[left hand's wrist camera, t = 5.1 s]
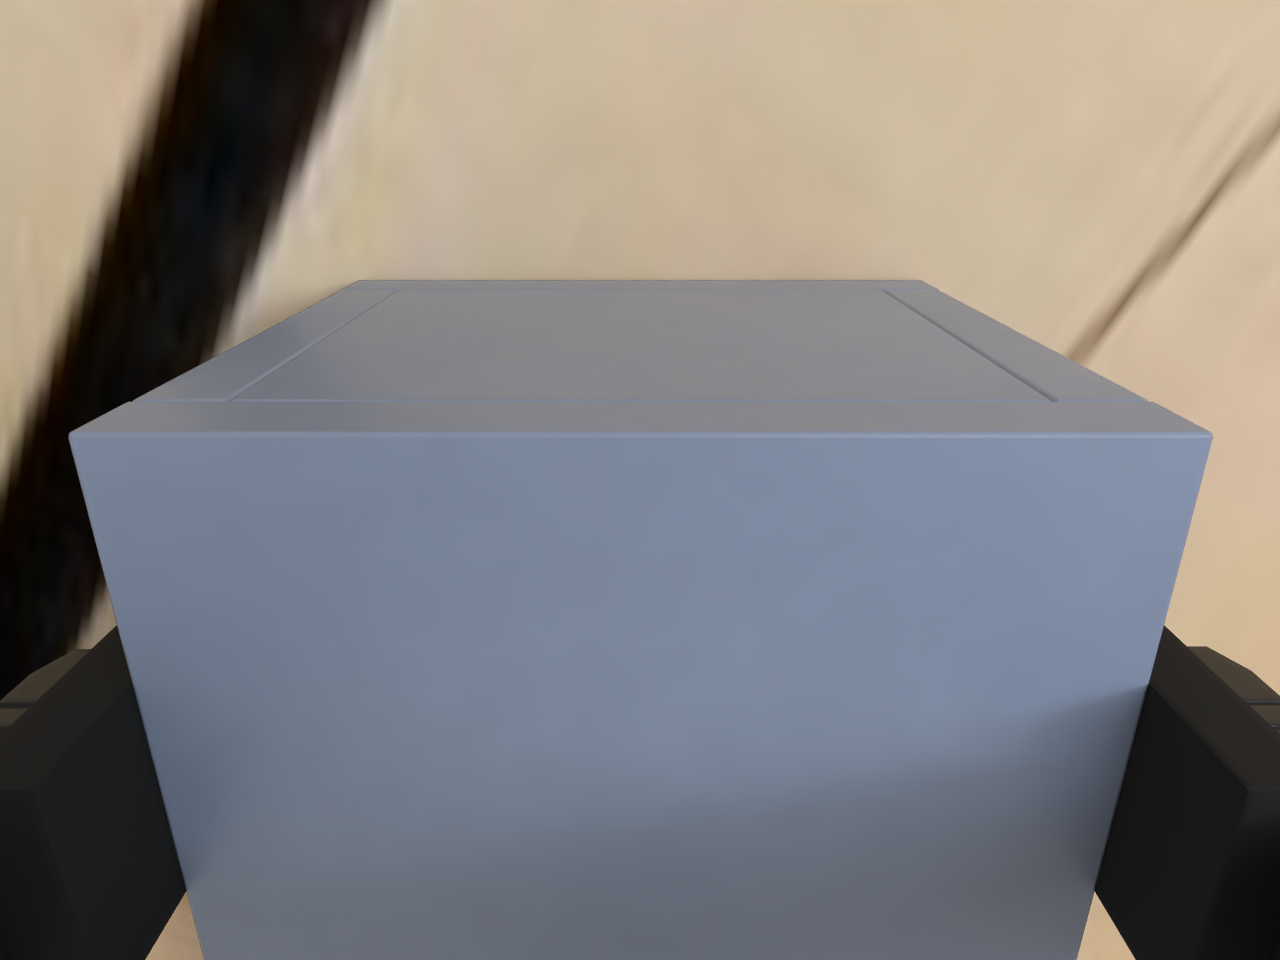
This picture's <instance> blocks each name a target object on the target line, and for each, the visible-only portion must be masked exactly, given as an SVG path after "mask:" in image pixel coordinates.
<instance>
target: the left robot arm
mask: <svg viewBox="0 0 1280 960" xmlns="http://www.w3.org/2000/svg"><path fill="white" fill-rule="evenodd" d="M185 892H186V888H185V884H184V880H183V876H182V872H181V869H180V865H179V861H178V857H177V853H176V849H175V845H174V842H173V838H172V834H171V830H170V826H169V822H168V819H167V815H166V811H165V807H164V803H163V799H162V795H161V792H160V788H159V784H158V780H157V776H156V772H155V768H154V765H153V761H152V757H151V753H150V749H149V745H148V742H147V738H146V734H145V730H144V726H143V722H142V718H141V715H140V711H139V707H138V703H137V699H136V695H135V691H134V688H133V684H132V680H131V676H130V672H129V668H128V665H127V661H126V657H125V653H124V649H123V645H122V641H121V638H120V634H119V630H118V626H116V627H115V628H113V629H112V630H111V631H110V632H109V633H108V634H107V635H106V636H105V637H104V638H103V639H102V640H101V641H100V642H99V643H97V644H96V645H95V646H94V647H93V648H92V649H75V650H73V651H71V652H70V653H68V654H66V655H64V656H62V657H60V658H59V659H57V660H55V661H53V662H51V663H50V664H48V665H46V666H44V667H42V668H40V669H39V670H37V671H35V672H33V673H31V674H30V675H29V676H28V677H27V678H25V679H24V680H23V681H22V682H21V683H20V684H19V685H18V686H16V687H15V688H14V689H13V690H12V691H11V692H10V693H8V694H7V695H6V696H5V697H4V698H3V699H2V700H1V701H0V960H145V959H146V957H147V956H148V954H149V952H150V951H151V949H152V947H153V946H154V944H155V942H156V941H157V939H158V937H159V936H160V934H161V932H162V931H163V929H164V927H165V926H166V924H167V922H168V921H169V919H170V917H171V916H172V914H173V912H174V911H175V909H176V907H177V906H178V904H179V902H180V901H181V899H182V897H183V896H184V894H185ZM1095 892H1096V894H1097V896H1098V897H1099V899H1100V901H1101V902H1102V904H1103V906H1104V907H1105V909H1106V911H1107V912H1108V914H1109V916H1110V917H1111V919H1112V921H1113V922H1114V924H1115V926H1116V927H1117V929H1118V931H1119V932H1120V934H1121V936H1122V937H1123V939H1124V941H1125V942H1126V944H1127V946H1128V947H1129V949H1130V951H1131V952H1132V954H1133V956H1134V957H1135V959H1136V960H1280V696H1279V695H1278V694H1277V693H1276V692H1275V691H1274V690H1272V689H1271V688H1270V687H1269V686H1268V685H1267V684H1266V683H1264V682H1263V681H1262V680H1261V679H1260V678H1259V677H1258V676H1256V675H1255V674H1254V673H1253V672H1252V671H1250V670H1249V669H1247V668H1245V667H1243V666H1241V665H1239V664H1238V663H1236V662H1234V661H1232V660H1230V659H1228V658H1227V657H1225V656H1223V655H1221V654H1219V653H1217V652H1216V651H1214V650H1212V649H1210V648H1208V647H1187V646H1186V645H1185V644H1183V643H1182V642H1181V641H1180V640H1179V639H1178V638H1177V637H1176V636H1175V635H1174V634H1173V633H1172V632H1171V631H1170V630H1169V629H1168V628H1166V627H1165V626H1163V630H1162V634H1161V638H1160V642H1159V646H1158V649H1157V653H1156V657H1155V661H1154V665H1153V669H1152V672H1151V676H1150V680H1149V684H1148V688H1147V692H1146V695H1145V699H1144V703H1143V707H1142V711H1141V715H1140V718H1139V722H1138V726H1137V730H1136V734H1135V738H1134V741H1133V745H1132V749H1131V753H1130V757H1129V761H1128V764H1127V768H1126V772H1125V776H1124V780H1123V784H1122V787H1121V791H1120V795H1119V799H1118V803H1117V807H1116V810H1115V814H1114V818H1113V822H1112V826H1111V830H1110V833H1109V837H1108V841H1107V845H1106V849H1105V853H1104V856H1103V860H1102V864H1101V868H1100V872H1099V876H1098V879H1097V883H1096V887H1095Z"/></svg>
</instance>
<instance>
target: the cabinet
mask: <svg viewBox="0 0 1280 960" xmlns="http://www.w3.org/2000/svg"><path fill="white" fill-rule="evenodd" d="M1212 438H1213V437H1212V433H1211V432H1210V431H1208V430H1206V429H1204V428H1202V427H1200V426H1198V425H1196V424H1194V423H1192V422H1191V421H1189V420H1187V419H1185V418H1183V417H1181V416H1179V415H1177V414H1175V413H1173V412H1171V411H1170V410H1168V409H1166V408H1164V407H1162V406H1160V405H1158V404H1156V403H1154V402H1148V400H1146V399H1144V398H1142V397H1141V396H1139V395H1137V394H1135V393H1133V392H1131V391H1129V390H1127V389H1125V388H1123V387H1122V386H1120V385H1118V384H1116V383H1114V382H1112V381H1110V380H1108V379H1106V378H1104V377H1103V376H1101V375H1099V374H1097V373H1095V372H1093V371H1091V370H1089V369H1087V368H1085V367H1084V366H1082V365H1080V364H1078V363H1076V362H1074V361H1072V360H1070V359H1068V358H1066V357H1065V356H1063V355H1061V354H1059V353H1057V352H1055V351H1053V350H1051V349H1049V348H1047V347H1046V346H1044V345H1042V344H1040V343H1038V342H1036V341H1034V340H1032V339H1030V338H1028V337H1027V336H1025V335H1023V334H1021V333H1019V332H1017V331H1015V330H1013V329H1011V328H1009V327H1008V326H1006V325H1004V324H1002V323H1000V322H998V321H996V320H994V319H992V318H990V317H989V316H987V315H985V314H983V313H981V312H979V311H977V310H975V309H973V308H971V307H970V306H968V305H966V304H964V303H962V302H960V301H958V300H956V299H954V298H952V297H951V296H949V295H947V294H945V293H943V292H941V291H939V290H938V289H937V288H935V287H933V286H931V285H929V284H927V283H925V282H923V281H921V280H359V281H357V282H355V283H353V284H351V285H349V286H347V287H345V288H343V289H342V290H341V291H339V292H337V293H335V294H333V295H331V296H330V297H328V298H326V299H324V300H322V301H320V302H318V303H316V304H314V305H312V306H311V307H309V308H307V309H305V310H303V311H301V312H299V313H297V314H295V315H294V316H292V317H290V318H288V319H286V320H284V321H282V322H280V323H278V324H277V325H275V326H273V327H271V328H269V329H267V330H265V331H263V332H261V333H260V334H258V335H256V336H254V337H252V338H250V339H248V340H246V341H244V342H243V343H241V344H239V345H237V346H235V347H233V348H231V349H229V350H227V351H226V352H224V353H222V354H220V355H218V356H216V357H214V358H212V359H210V360H208V361H207V362H205V363H203V364H201V365H199V366H197V367H195V368H193V369H191V370H190V371H188V372H186V373H184V374H182V375H180V376H178V377H176V378H174V379H173V380H171V381H169V382H167V383H165V384H163V385H161V386H159V387H157V388H156V389H154V390H152V391H150V392H148V393H146V394H144V395H142V396H140V397H139V398H137V399H135V400H133V402H127V403H125V404H123V405H121V406H119V407H117V408H116V409H114V410H112V411H110V412H108V413H106V414H104V415H102V416H100V417H98V418H97V419H95V420H93V421H91V422H89V423H87V424H85V425H83V426H81V427H79V428H78V429H76V430H74V431H72V432H70V434H69V441H70V445H71V449H72V453H73V457H74V461H75V464H76V468H77V472H78V476H79V480H80V484H81V487H82V491H83V495H84V499H85V503H86V507H87V511H88V514H89V518H90V522H91V526H92V530H93V534H94V538H95V541H96V545H97V549H98V553H99V557H100V561H101V564H102V568H103V572H104V576H105V580H106V584H107V588H108V591H109V595H110V599H111V603H112V607H113V611H114V615H115V618H116V622H117V626H118V630H119V634H120V638H121V641H122V645H123V649H124V653H125V657H126V661H127V665H128V668H129V672H130V676H131V680H132V684H133V688H134V691H135V695H136V699H137V703H138V707H139V711H140V715H141V718H142V722H143V726H144V730H145V734H146V738H147V742H148V745H149V749H150V753H151V757H152V761H153V765H154V768H155V772H156V776H157V780H158V784H159V788H160V792H161V795H162V799H163V803H164V807H165V811H166V815H167V819H168V822H169V826H170V830H171V834H172V838H173V842H174V845H175V849H176V853H177V857H178V861H179V865H180V869H181V872H182V876H183V880H184V884H185V888H186V892H187V895H188V899H189V903H190V907H191V911H192V915H193V919H194V922H195V926H196V930H197V934H198V938H199V942H200V946H201V949H202V953H203V957H204V960H1077V956H1078V952H1079V948H1080V945H1081V941H1082V937H1083V933H1084V929H1085V925H1086V922H1087V918H1088V914H1089V910H1090V906H1091V902H1092V899H1093V895H1094V891H1095V887H1096V883H1097V879H1098V876H1099V872H1100V868H1101V864H1102V860H1103V856H1104V853H1105V849H1106V845H1107V841H1108V837H1109V833H1110V830H1111V826H1112V822H1113V818H1114V814H1115V810H1116V807H1117V803H1118V799H1119V795H1120V791H1121V787H1122V784H1123V780H1124V776H1125V772H1126V768H1127V764H1128V761H1129V757H1130V753H1131V749H1132V745H1133V741H1134V738H1135V734H1136V730H1137V726H1138V722H1139V718H1140V715H1141V711H1142V707H1143V703H1144V699H1145V695H1146V692H1147V688H1148V684H1149V680H1150V676H1151V672H1152V669H1153V665H1154V661H1155V657H1156V653H1157V649H1158V646H1159V642H1160V638H1161V634H1162V630H1163V626H1164V622H1165V619H1166V615H1167V611H1168V607H1169V603H1170V599H1171V596H1172V592H1173V588H1174V584H1175V580H1176V576H1177V573H1178V569H1179V565H1180V561H1181V557H1182V553H1183V550H1184V546H1185V542H1186V538H1187V534H1188V530H1189V527H1190V523H1191V519H1192V515H1193V511H1194V507H1195V504H1196V500H1197V496H1198V492H1199V488H1200V484H1201V481H1202V477H1203V473H1204V469H1205V465H1206V461H1207V458H1208V454H1209V450H1210V446H1211V442H1212Z"/></svg>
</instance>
